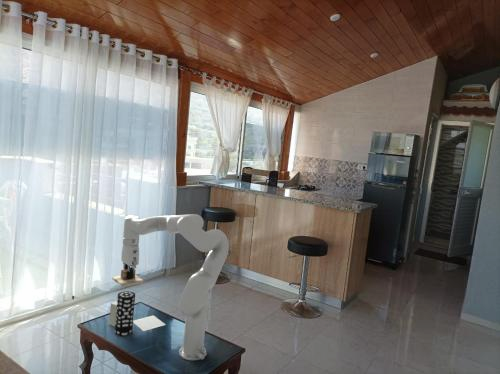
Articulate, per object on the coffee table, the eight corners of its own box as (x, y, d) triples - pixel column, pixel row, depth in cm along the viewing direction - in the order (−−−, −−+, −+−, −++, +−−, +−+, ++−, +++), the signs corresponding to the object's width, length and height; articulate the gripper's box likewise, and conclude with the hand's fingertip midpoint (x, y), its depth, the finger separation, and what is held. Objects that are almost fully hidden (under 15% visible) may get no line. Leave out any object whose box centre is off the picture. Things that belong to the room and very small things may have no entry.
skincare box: (118, 321, 191) (119, 299, 190) (124, 323, 189) (126, 301, 188) (108, 325, 185) (110, 302, 184) (114, 328, 183) (116, 305, 182)
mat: (165, 325, 191) (165, 324, 191) (143, 332, 182) (143, 331, 182) (153, 316, 200) (153, 315, 200) (131, 322, 191) (131, 321, 191)
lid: (143, 282, 177) (144, 271, 177) (121, 286, 169) (122, 275, 169) (132, 275, 185) (133, 265, 184) (112, 279, 177) (112, 268, 177)
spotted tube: (122, 327, 185) (125, 290, 183) (135, 331, 182) (138, 293, 180) (110, 334, 177) (113, 295, 175) (124, 339, 174) (128, 299, 172)
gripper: (146, 244, 172) (142, 281, 174) (130, 236, 184) (127, 271, 185) (131, 246, 167) (128, 284, 169) (116, 237, 179) (113, 273, 180)
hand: (127, 277), depth 177 cm, fingers closed on lid, 3 cm apart
